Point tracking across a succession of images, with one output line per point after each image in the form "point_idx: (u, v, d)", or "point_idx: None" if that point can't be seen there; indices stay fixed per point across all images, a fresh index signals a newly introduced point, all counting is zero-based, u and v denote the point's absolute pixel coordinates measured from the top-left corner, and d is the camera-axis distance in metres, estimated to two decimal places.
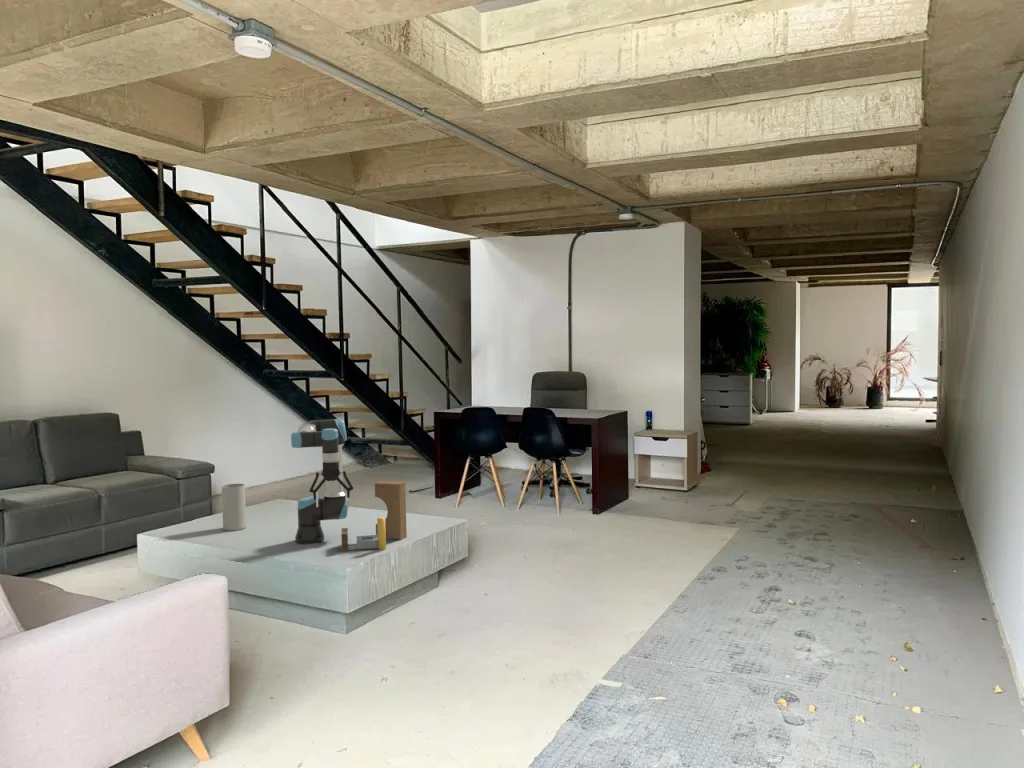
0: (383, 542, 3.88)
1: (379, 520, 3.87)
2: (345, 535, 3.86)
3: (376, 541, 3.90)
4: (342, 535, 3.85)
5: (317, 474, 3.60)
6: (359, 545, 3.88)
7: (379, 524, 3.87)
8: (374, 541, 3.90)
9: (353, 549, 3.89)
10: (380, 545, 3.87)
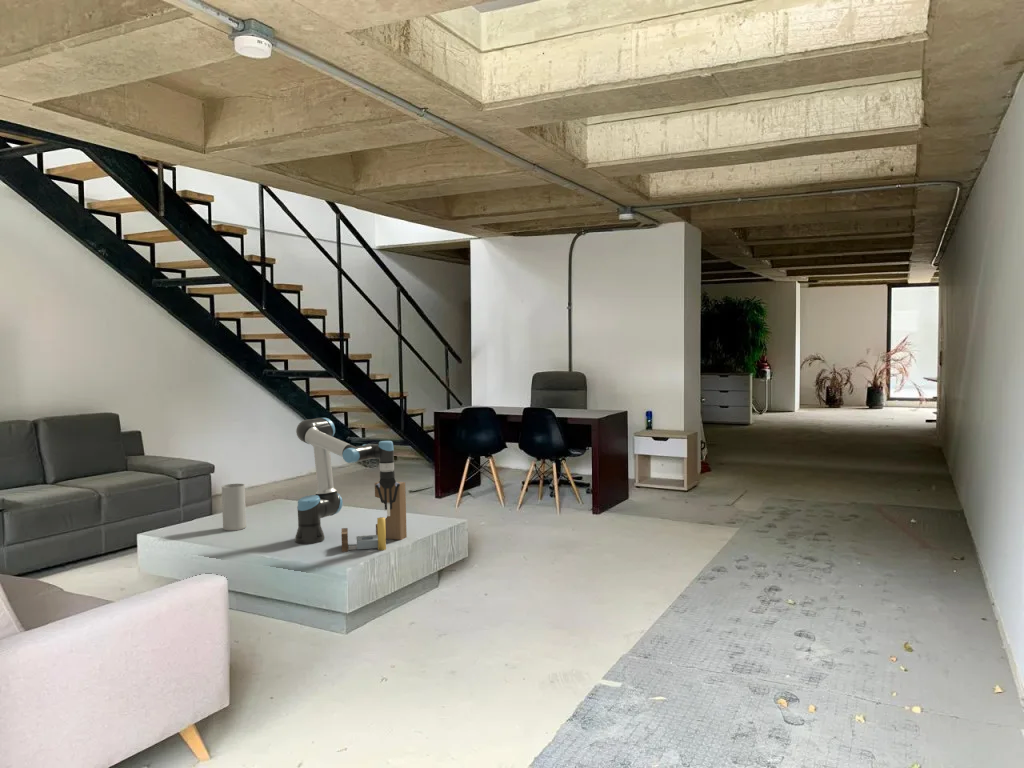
0: (383, 542, 3.88)
1: (379, 520, 3.87)
2: (345, 535, 3.86)
3: (376, 541, 3.90)
4: (342, 535, 3.85)
5: (377, 486, 3.95)
6: (359, 545, 3.88)
7: (379, 524, 3.87)
8: (374, 541, 3.90)
9: (353, 549, 3.89)
10: (380, 545, 3.87)
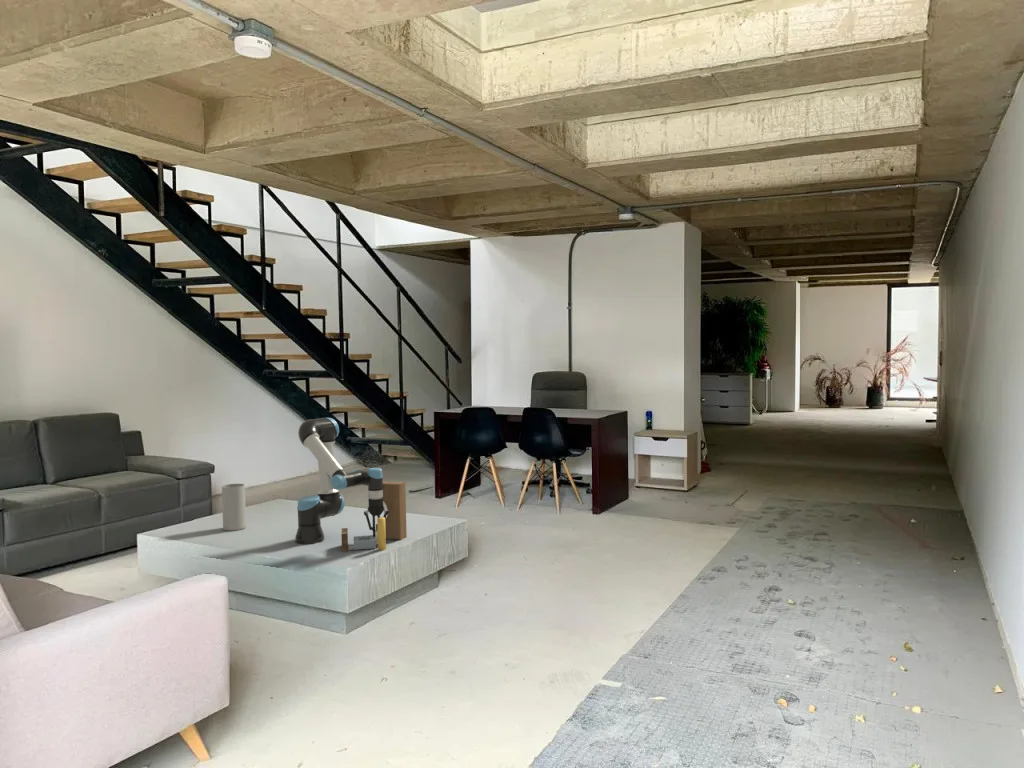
0: (383, 542, 3.88)
1: (379, 520, 3.87)
2: (345, 535, 3.86)
3: (373, 541, 3.90)
4: (342, 535, 3.85)
5: (365, 513, 3.95)
6: (356, 545, 3.88)
7: (379, 524, 3.87)
8: (371, 541, 3.90)
9: (353, 549, 3.89)
10: (380, 545, 3.87)
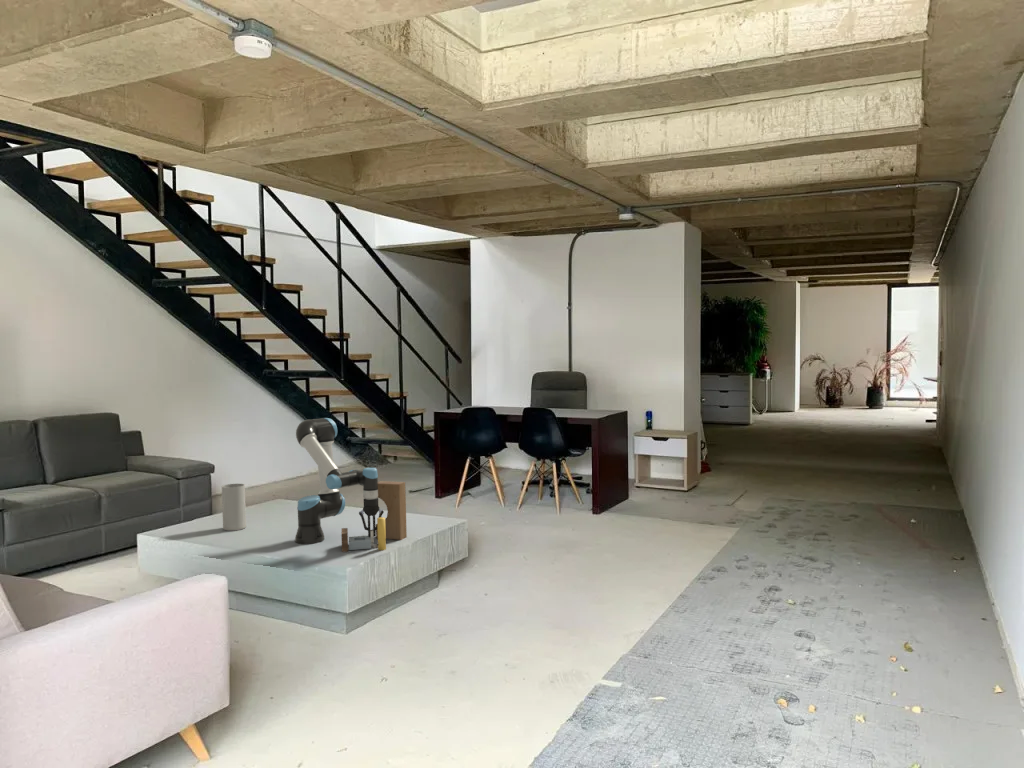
0: (383, 542, 3.88)
1: (379, 520, 3.87)
2: (345, 535, 3.86)
3: (368, 542, 3.89)
4: (342, 535, 3.85)
5: (360, 513, 3.94)
6: (351, 546, 3.88)
7: (379, 524, 3.87)
8: (366, 542, 3.89)
9: None
10: (380, 545, 3.87)
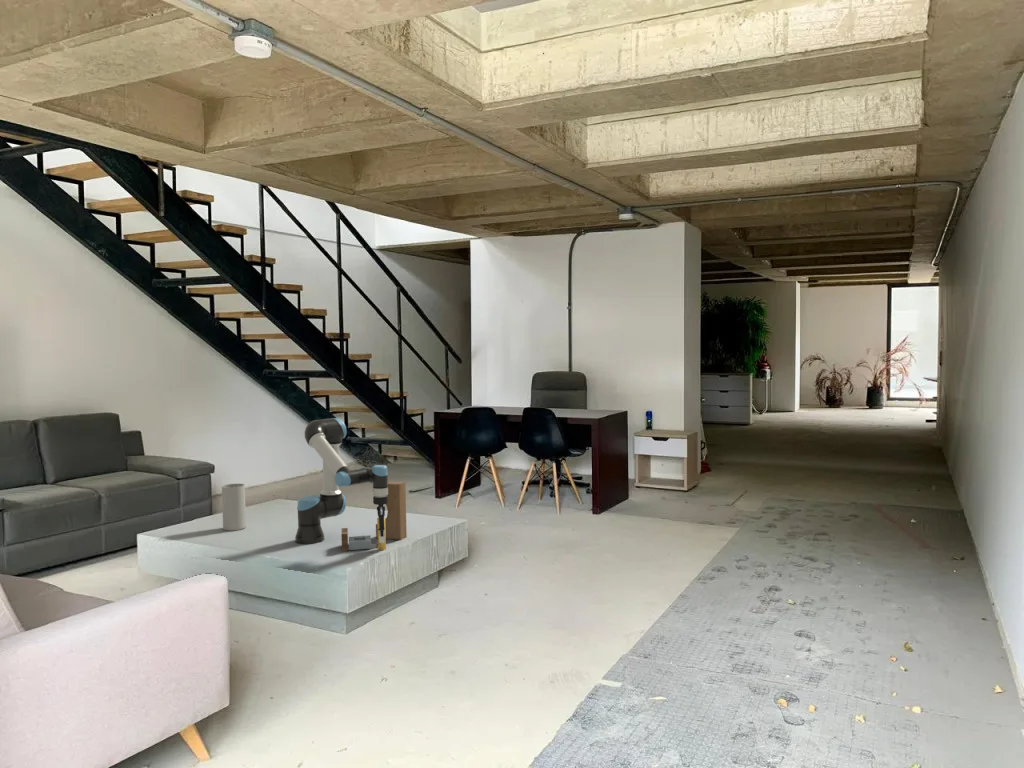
0: None
1: None
2: (345, 535, 3.86)
3: (368, 542, 3.89)
4: (342, 535, 3.85)
5: None
6: (351, 546, 3.88)
7: None
8: (366, 542, 3.89)
9: None
10: (380, 545, 3.87)
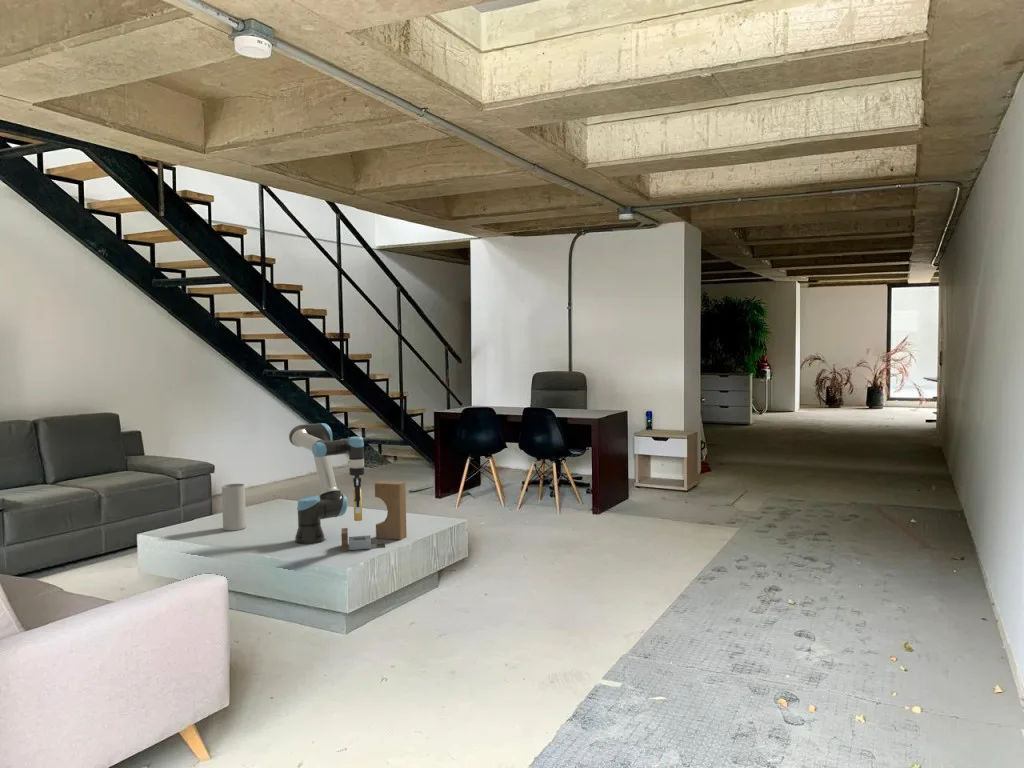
0: (359, 513, 3.91)
1: None
2: (345, 535, 3.86)
3: (368, 542, 3.89)
4: (342, 535, 3.85)
5: None
6: (351, 546, 3.88)
7: None
8: (366, 542, 3.89)
9: None
10: (356, 516, 3.91)
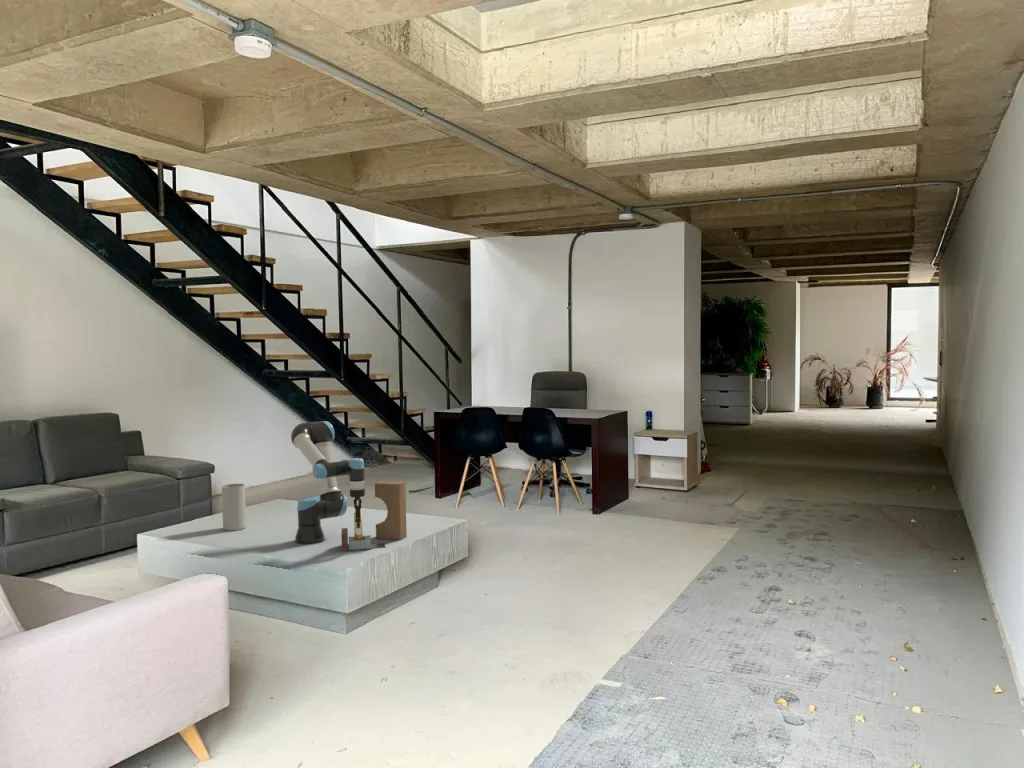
0: (360, 536, 3.92)
1: None
2: (345, 535, 3.86)
3: (368, 542, 3.89)
4: (342, 535, 3.85)
5: None
6: (351, 546, 3.88)
7: None
8: (366, 542, 3.89)
9: None
10: (356, 539, 3.92)
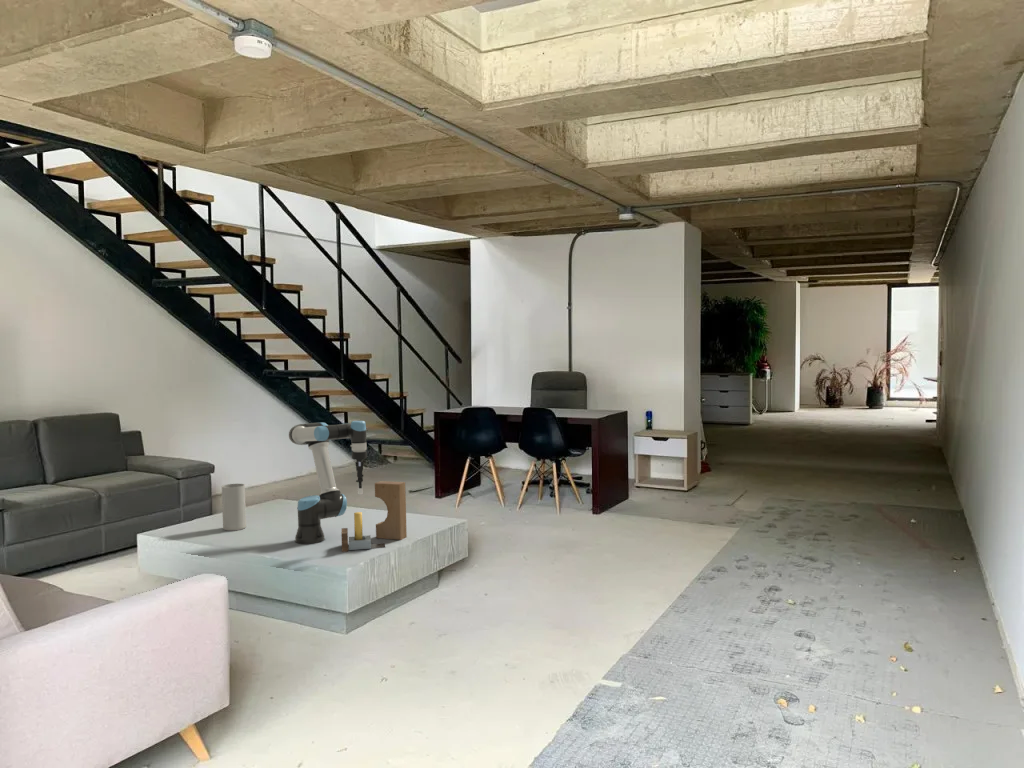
0: (360, 537, 3.92)
1: (356, 515, 3.91)
2: (345, 535, 3.86)
3: (368, 542, 3.89)
4: (342, 535, 3.85)
5: None
6: (351, 546, 3.88)
7: (356, 519, 3.91)
8: (366, 542, 3.89)
9: None
10: (356, 539, 3.92)
